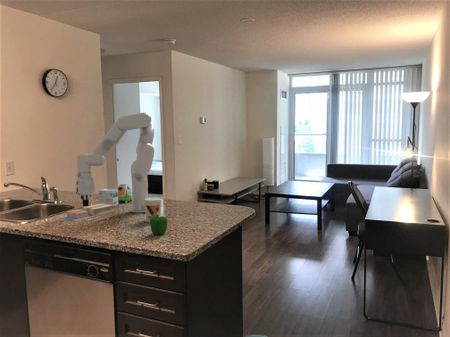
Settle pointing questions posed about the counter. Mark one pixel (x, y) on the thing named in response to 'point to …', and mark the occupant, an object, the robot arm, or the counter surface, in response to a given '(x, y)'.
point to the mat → (75, 218)
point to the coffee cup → (152, 207)
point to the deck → (99, 209)
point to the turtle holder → (124, 192)
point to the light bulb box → (108, 196)
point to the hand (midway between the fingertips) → (85, 206)
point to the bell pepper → (158, 224)
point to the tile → (77, 214)
